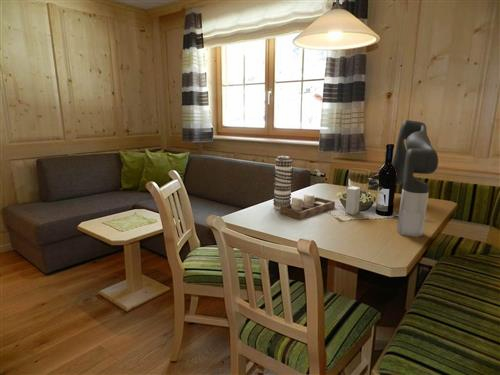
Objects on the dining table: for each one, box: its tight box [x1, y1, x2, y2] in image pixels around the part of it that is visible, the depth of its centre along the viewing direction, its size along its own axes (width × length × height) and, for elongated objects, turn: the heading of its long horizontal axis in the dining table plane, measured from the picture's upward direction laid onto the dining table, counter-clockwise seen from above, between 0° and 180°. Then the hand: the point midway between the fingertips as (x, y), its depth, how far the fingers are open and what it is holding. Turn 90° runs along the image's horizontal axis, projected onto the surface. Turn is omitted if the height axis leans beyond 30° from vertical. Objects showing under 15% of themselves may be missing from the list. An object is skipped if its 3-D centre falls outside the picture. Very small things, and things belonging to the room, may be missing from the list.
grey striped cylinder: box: [272, 155, 294, 210], centre depth 160 cm, size 9×9×25 cm
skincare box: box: [344, 185, 361, 216], centre depth 155 cm, size 6×4×12 cm
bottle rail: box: [279, 193, 336, 220], centre depth 157 cm, size 28×11×7 cm, turn 134°
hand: (365, 185), depth 162 cm, fingers open, 8 cm apart
